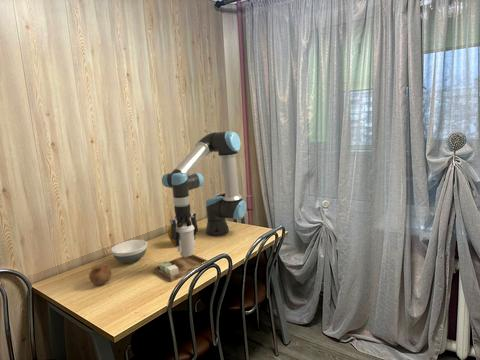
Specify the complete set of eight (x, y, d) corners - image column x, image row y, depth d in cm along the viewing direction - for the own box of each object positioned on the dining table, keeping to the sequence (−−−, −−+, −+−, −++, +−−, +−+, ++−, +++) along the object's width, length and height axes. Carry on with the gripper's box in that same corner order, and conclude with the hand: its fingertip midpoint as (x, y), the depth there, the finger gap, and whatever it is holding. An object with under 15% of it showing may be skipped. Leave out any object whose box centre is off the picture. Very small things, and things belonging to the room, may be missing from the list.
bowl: (107, 261, 170) (104, 247, 168) (138, 250, 183) (137, 237, 181) (122, 271, 157) (120, 256, 155) (155, 258, 170) (153, 244, 168)
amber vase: (166, 248, 183) (164, 227, 181) (173, 241, 194) (171, 221, 192) (184, 248, 181) (182, 227, 179) (190, 241, 192) (188, 221, 190)
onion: (101, 293, 143) (95, 279, 137) (88, 284, 147) (81, 271, 141) (118, 277, 150) (112, 264, 144) (104, 269, 154) (98, 256, 148)
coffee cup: (192, 258, 151) (190, 228, 148) (174, 257, 153) (171, 228, 150) (199, 250, 160) (196, 222, 157) (181, 250, 162) (179, 222, 159)
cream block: (175, 272, 151) (174, 264, 150) (178, 275, 147) (178, 267, 147) (167, 275, 148) (166, 267, 148) (171, 278, 145) (170, 270, 144)
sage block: (166, 269, 155) (165, 261, 154) (172, 270, 153) (171, 263, 152) (160, 272, 152) (159, 264, 151) (166, 274, 149) (165, 266, 149)
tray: (190, 257, 168) (189, 253, 168) (209, 265, 157) (208, 260, 156) (153, 272, 153) (153, 268, 153) (171, 283, 142) (171, 278, 141)
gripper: (194, 199, 161) (198, 241, 165) (159, 208, 148) (164, 254, 152) (203, 201, 156) (206, 244, 160) (168, 210, 142) (173, 257, 146)
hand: (186, 249), depth 156 cm, fingers closed on coffee cup, 7 cm apart
